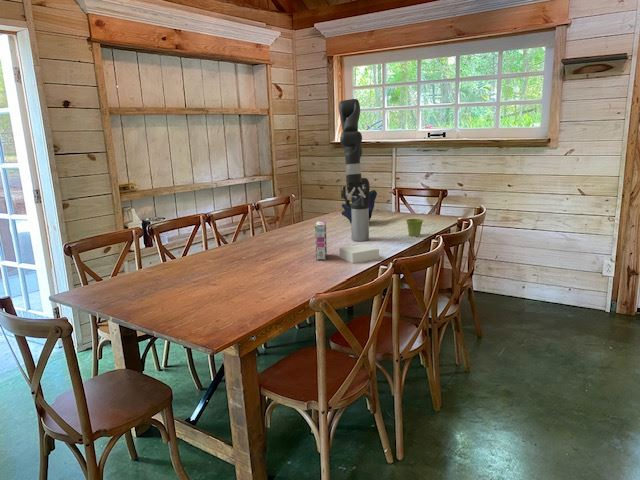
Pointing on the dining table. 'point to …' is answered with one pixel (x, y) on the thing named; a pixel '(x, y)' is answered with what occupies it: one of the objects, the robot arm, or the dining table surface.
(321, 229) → the candy bar box
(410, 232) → the plant pot
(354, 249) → the grey block
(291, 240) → the dining table surface
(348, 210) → the decorative plant
